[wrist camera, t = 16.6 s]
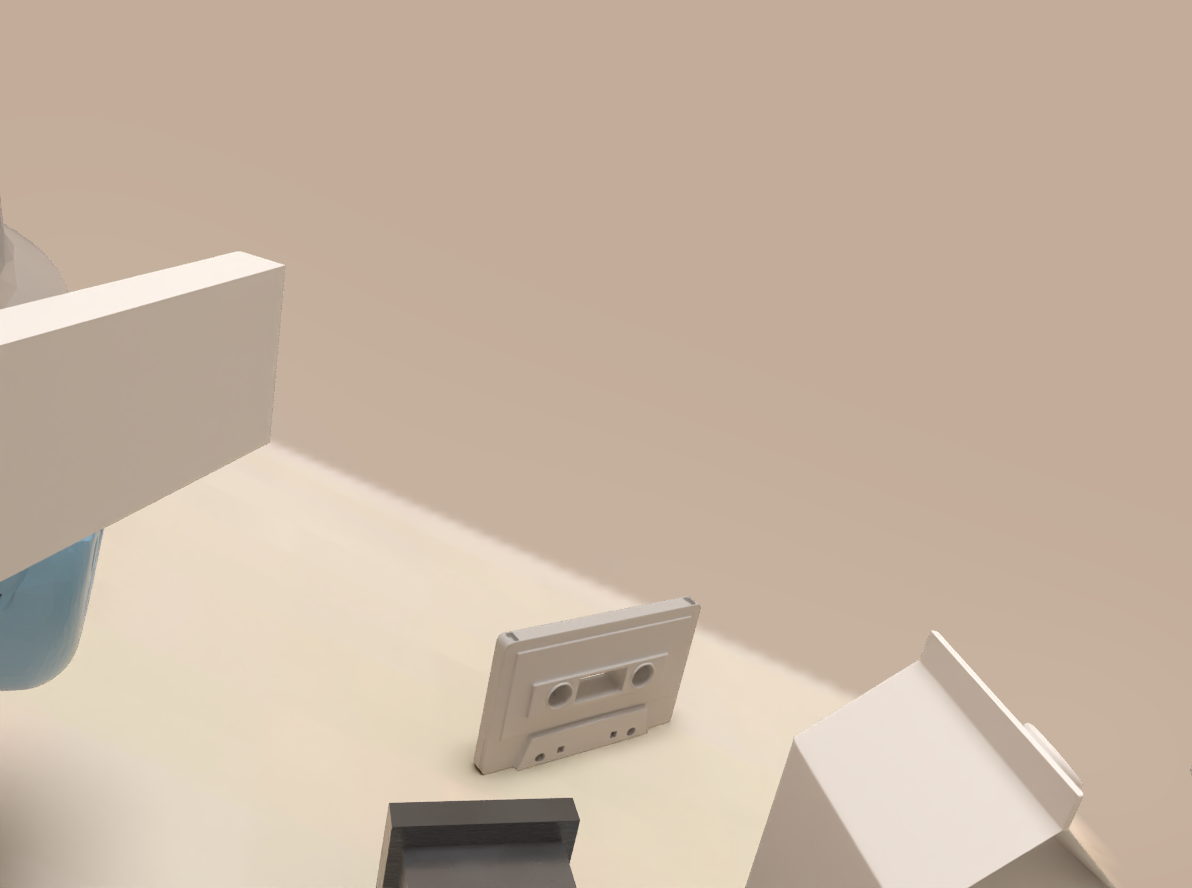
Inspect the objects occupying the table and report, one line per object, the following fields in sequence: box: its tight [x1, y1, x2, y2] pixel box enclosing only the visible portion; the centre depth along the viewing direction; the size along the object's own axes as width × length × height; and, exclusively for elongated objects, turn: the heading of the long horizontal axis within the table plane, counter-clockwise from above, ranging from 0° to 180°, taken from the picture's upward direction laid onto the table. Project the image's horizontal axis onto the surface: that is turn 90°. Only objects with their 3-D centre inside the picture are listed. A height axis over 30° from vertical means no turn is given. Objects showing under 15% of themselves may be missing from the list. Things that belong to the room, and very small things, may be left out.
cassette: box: [474, 596, 701, 775], centre depth 55 cm, size 12×2×8 cm, turn 124°
